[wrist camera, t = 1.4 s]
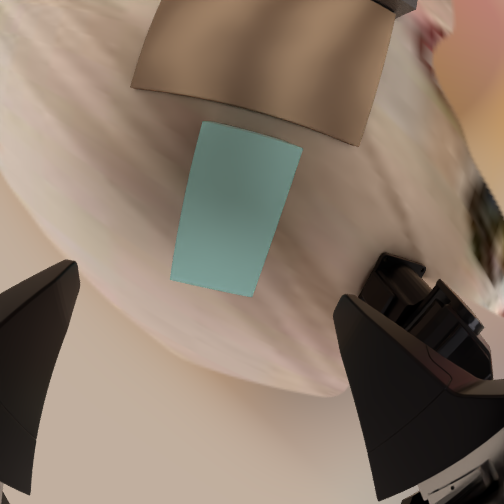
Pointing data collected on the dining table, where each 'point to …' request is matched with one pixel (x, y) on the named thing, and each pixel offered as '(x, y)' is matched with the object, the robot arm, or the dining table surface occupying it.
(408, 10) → the price rail
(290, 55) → the shelf board
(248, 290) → the teal carton
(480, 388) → the robot arm
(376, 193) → the dining table surface
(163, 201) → the dining table surface
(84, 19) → the dining table surface
